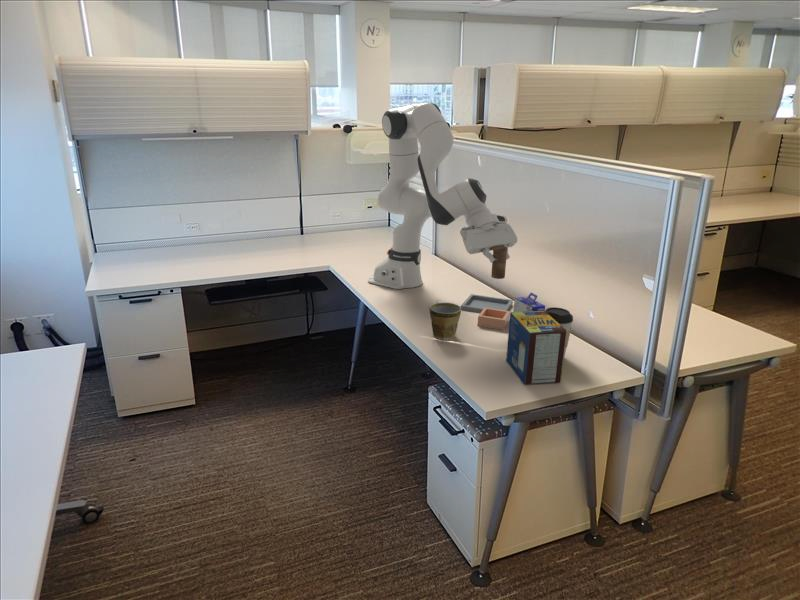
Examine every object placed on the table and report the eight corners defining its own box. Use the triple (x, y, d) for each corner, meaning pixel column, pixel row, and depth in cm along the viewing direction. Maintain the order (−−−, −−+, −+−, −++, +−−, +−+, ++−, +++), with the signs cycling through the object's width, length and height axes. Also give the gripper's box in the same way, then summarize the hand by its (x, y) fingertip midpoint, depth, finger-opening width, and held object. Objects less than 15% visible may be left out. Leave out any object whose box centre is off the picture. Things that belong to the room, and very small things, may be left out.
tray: (460, 310, 205) (460, 305, 204) (470, 299, 217) (471, 294, 217) (504, 317, 200) (504, 312, 199) (512, 305, 212) (512, 300, 211)
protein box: (538, 358, 169) (544, 309, 164) (560, 383, 155) (567, 330, 149) (505, 360, 167) (509, 311, 162) (524, 385, 153) (529, 332, 148)
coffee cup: (545, 348, 176) (550, 302, 171) (572, 356, 171) (579, 309, 166) (531, 357, 169) (536, 310, 164) (560, 366, 164) (566, 318, 159)
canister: (489, 277, 187) (492, 248, 183) (493, 274, 190) (495, 245, 187) (503, 279, 185) (505, 249, 182) (506, 275, 189) (508, 246, 186)
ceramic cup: (464, 341, 180) (466, 311, 176) (434, 344, 177) (435, 314, 173) (449, 326, 191) (450, 298, 188) (421, 329, 189) (422, 300, 185)
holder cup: (477, 327, 191) (478, 316, 190) (483, 318, 199) (484, 307, 197) (503, 331, 188) (504, 320, 186) (509, 322, 196) (510, 311, 194)
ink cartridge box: (542, 341, 181) (547, 298, 176) (527, 344, 179) (532, 300, 174) (524, 330, 189) (528, 288, 184) (510, 332, 187) (513, 290, 182)
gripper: (463, 222, 181) (481, 259, 177) (509, 216, 192) (528, 250, 188) (453, 233, 186) (471, 269, 182) (499, 226, 197) (517, 260, 193)
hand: (500, 260), depth 185 cm, fingers closed on canister, 4 cm apart
